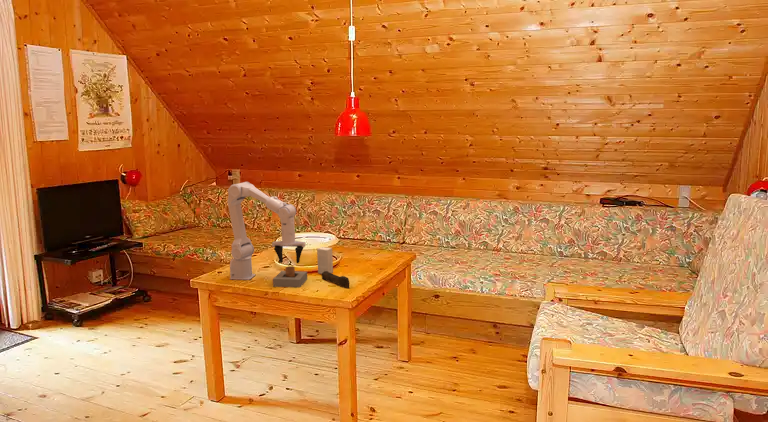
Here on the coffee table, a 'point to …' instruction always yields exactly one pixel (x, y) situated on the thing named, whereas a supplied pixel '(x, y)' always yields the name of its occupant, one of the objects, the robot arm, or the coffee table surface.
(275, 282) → the socket stand
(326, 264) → the skincare box
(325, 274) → the hand tool
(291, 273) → the walnut peg
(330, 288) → the coffee table surface
